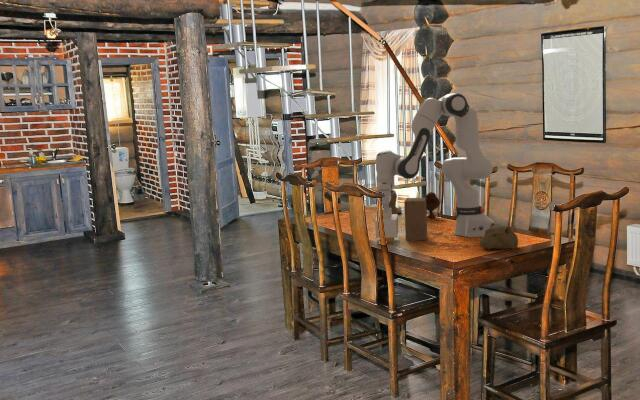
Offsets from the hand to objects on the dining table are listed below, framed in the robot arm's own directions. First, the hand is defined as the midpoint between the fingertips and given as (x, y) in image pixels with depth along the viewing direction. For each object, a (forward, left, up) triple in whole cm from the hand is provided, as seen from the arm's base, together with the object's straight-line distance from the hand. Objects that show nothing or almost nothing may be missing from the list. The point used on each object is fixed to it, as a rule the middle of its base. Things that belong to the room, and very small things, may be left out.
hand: (386, 211), depth 345 cm
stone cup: (+3, -72, -16) cm, 74 cm away
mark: (0, 0, -15) cm, 15 cm away
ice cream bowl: (-21, -59, -16) cm, 65 cm away
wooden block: (-14, -6, -16) cm, 22 cm away
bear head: (-52, +18, -16) cm, 57 cm away
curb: (0, +6, -15) cm, 16 cm away
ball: (-1, +3, -13) cm, 13 cm away
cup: (0, 0, -12) cm, 12 cm away
